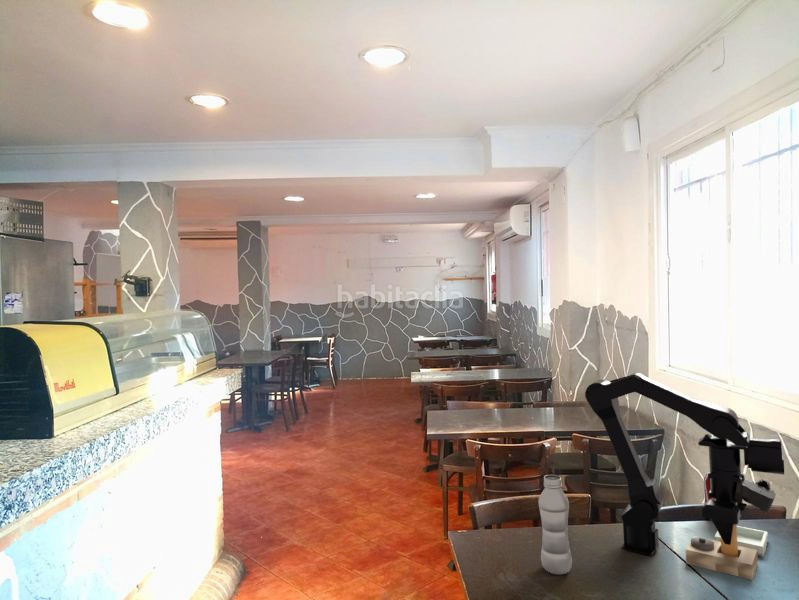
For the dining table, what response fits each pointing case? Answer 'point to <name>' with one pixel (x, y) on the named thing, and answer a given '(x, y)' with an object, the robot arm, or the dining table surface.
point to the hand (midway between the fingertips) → (728, 541)
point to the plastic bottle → (554, 527)
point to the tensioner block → (721, 558)
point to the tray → (750, 539)
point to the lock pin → (731, 545)
